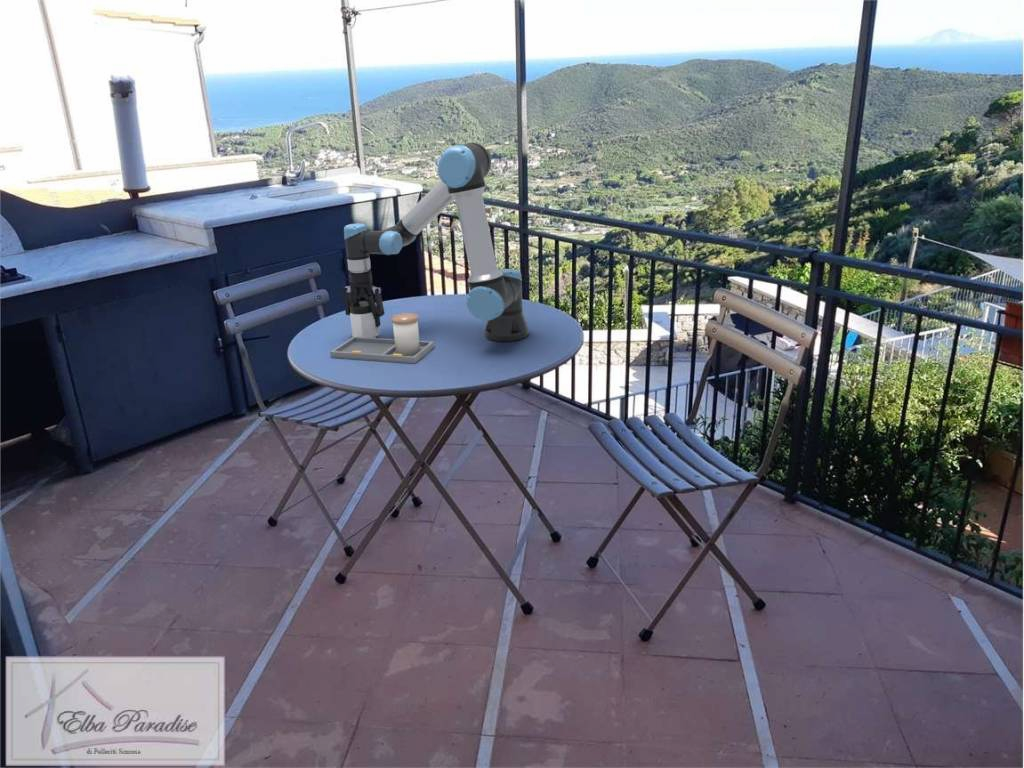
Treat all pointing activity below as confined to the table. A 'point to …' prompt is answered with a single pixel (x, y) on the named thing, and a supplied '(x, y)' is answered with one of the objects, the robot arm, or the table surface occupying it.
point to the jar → (361, 320)
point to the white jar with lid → (406, 334)
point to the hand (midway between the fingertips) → (367, 334)
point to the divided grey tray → (377, 350)
